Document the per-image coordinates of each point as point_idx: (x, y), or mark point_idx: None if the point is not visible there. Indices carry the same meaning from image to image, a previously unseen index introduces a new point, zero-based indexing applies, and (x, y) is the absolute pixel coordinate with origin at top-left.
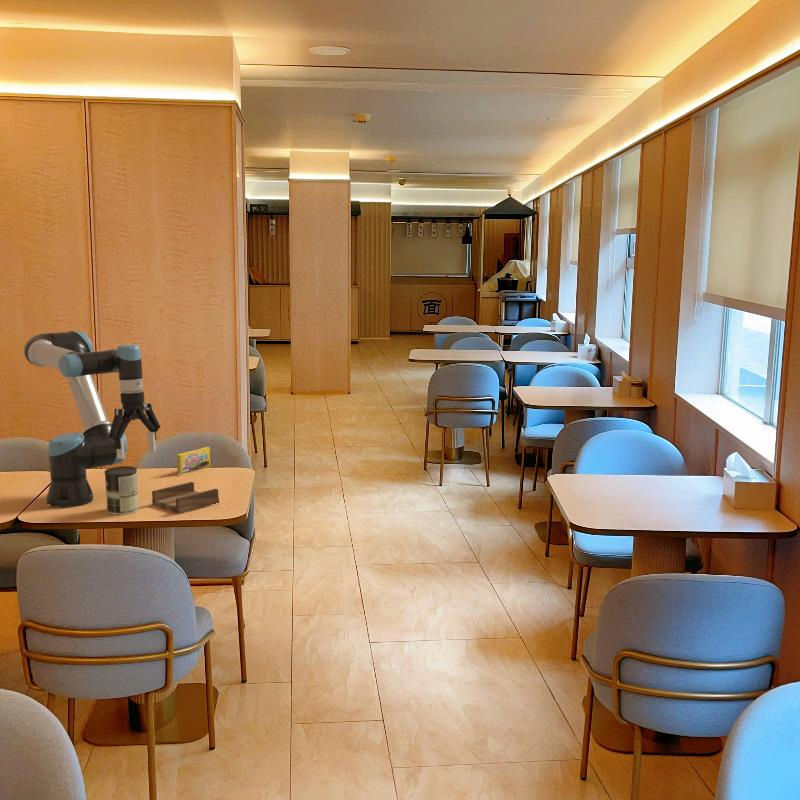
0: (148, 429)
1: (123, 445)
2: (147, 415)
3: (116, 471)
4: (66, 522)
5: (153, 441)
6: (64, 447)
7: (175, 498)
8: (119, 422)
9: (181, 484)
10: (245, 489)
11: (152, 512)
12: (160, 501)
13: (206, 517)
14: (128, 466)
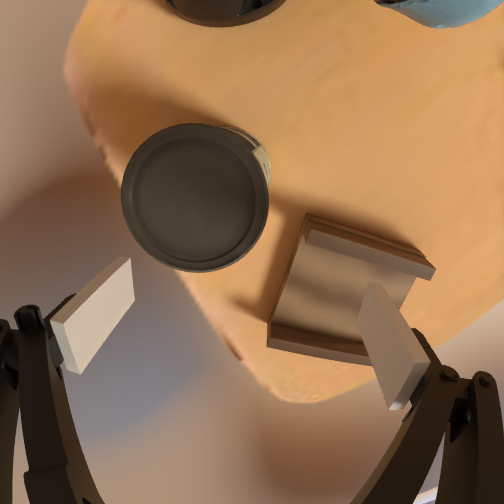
0: (430, 380)
1: (99, 345)
2: (468, 498)
3: (165, 198)
4: (87, 126)
5: (372, 361)
6: None
7: (341, 272)
8: (2, 459)
9: (406, 262)
10: (469, 322)
11: (249, 259)
12: (300, 254)
13: (270, 374)
14: (263, 185)
